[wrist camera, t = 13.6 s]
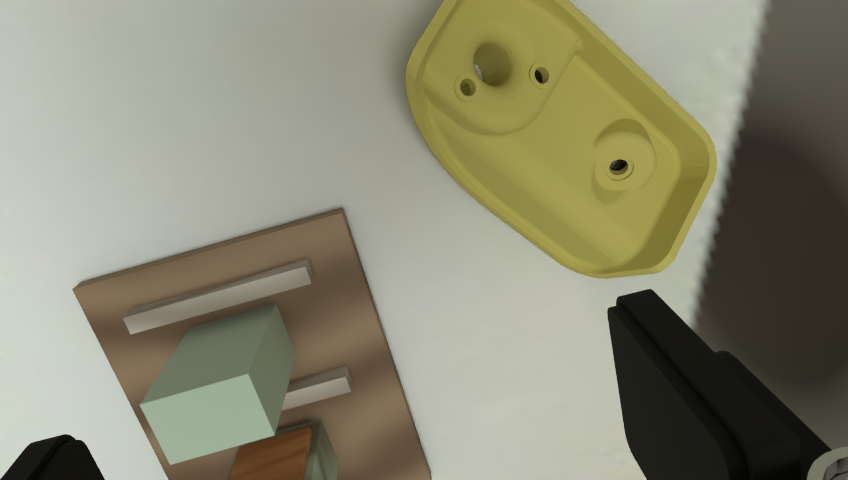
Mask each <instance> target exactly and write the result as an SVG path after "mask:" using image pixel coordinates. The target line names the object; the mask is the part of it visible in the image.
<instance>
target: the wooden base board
mask: <svg viewBox="0 0 848 480" xmlns="http://www.w3.org/2000/svg"><path fill="white" fill-rule="evenodd" d="M72 290H73V292H74V294H75V296H76V298H77V300H78V301H79V303H80V305H81V307H82V309H83V311H84V313H85V315H86V317H87V319H88V321H89V323H90V325H91V327H92V329H93V331H94V333H95V335H96V337H97V339H98V341H99V343H100V345H101V347H102V349H103V351H104V353H105V355H106V357H107V359H108V361H109V363H110V365H111V367H112V369H113V371H114V373H115V375H116V377H117V379H118V381H119V383H120V385H121V387H122V389H123V390H124V392H125V394H126V396H127V398H128V400H129V402H130V404H131V406H132V408H133V410H134V412H135V414H136V416H137V418H138V420H139V422H140V424H141V426H142V428H143V430H144V432H145V434H146V436H147V438H148V440H149V442H150V444H151V446H152V448H153V450H154V452H155V454H156V456H157V458H158V460H159V462H160V464H161V466H162V468H163V470H164V472H165V474H166V476H167V477H168V479H169V480H432V479H431V472H430V469H429V466H428V463H427V460H426V457H425V454H424V451H423V448H422V445H421V442H420V439H419V436H418V433H417V430H416V427H415V424H414V421H413V418H412V415H411V412H410V409H409V406H408V403H407V400H406V397H405V394H404V391H403V388H402V385H401V382H400V379H399V376H398V373H397V370H396V367H395V364H394V361H393V358H392V355H391V352H390V349H389V346H388V343H387V340H386V337H385V334H384V331H383V328H382V325H381V322H380V319H379V316H378V313H377V310H376V307H375V304H374V301H373V297H372V294H371V291H370V288H369V285H368V282H367V279H366V276H365V273H364V270H363V267H362V264H361V261H360V258H359V255H358V252H357V249H356V246H355V243H354V240H353V237H352V234H351V231H350V228H349V225H348V222H347V219H346V216H345V213H344V210H343V208H340V209H336V210H333V211H329V212H326V213H322V214H319V215H315V216H312V217H308V218H305V219H301V220H298V221H294V222H291V223H287V224H284V225H280V226H277V227H273V228H270V229H266V230H263V231H259V232H256V233H252V234H249V235H245V236H242V237H238V238H235V239H231V240H228V241H224V242H221V243H217V244H213V245H210V246H206V247H203V248H199V249H196V250H192V251H189V252H185V253H182V254H178V255H175V256H171V257H168V258H164V259H161V260H157V261H154V262H150V263H147V264H143V265H140V266H136V267H133V268H129V269H126V270H122V271H119V272H115V273H112V274H108V275H105V276H101V277H98V278H94V279H91V280H87V281H83V282H81V283H79V284H78V285H77V286H76V287H75V288H73V289H72ZM274 303H276V304H277V307H278V309H279V312H280V314H281V317H282V320H283V322H284V325H285V327H286V330H287V332H288V335H289V337H290V340H291V342H292V345H293V347H294V350H295V352H296V358H295V361H294V365H293V369H292V373H291V376H290V380H289V384H288V388H287V391H286V395H285V399H284V403H283V407H282V410H281V414H280V418H279V422H278V425H277V429H276V433H275V435H274V436H271V437H267V438H264V439H260V440H257V441H253V442H250V443H246V444H243V445H239V446H235V447H232V448H228V449H225V450H221V451H218V452H214V453H211V454H207V455H204V456H200V457H197V458H193V459H189V460H186V461H182V462H179V463H175V464H172V465H170V464H169V462H168V460H167V458H166V456H165V454H164V452H163V450H162V448H161V446H160V444H159V442H158V440H157V438H156V436H155V434H154V432H153V430H152V428H151V426H150V424H149V423H148V421H147V419H146V417H145V415H144V413H143V411H142V409H141V407H140V403H141V402H142V400H143V399H144V397H145V396H146V394H147V392H148V391H149V389H150V388H151V386H152V385H153V383H154V382H155V380H156V379H157V377H158V376H159V374H160V373H161V371H162V369H163V368H164V366H165V365H166V363H167V362H168V360H169V359H170V357H171V356H172V354H173V353H174V351H175V349H176V348H177V346H178V345H179V343H180V342H181V340H182V339H183V337H184V336H185V334H186V333H187V331H188V329H189V328H191V327H194V326H198V325H201V324H205V323H208V322H212V321H215V320H218V319H222V318H225V317H229V316H232V315H236V314H239V313H243V312H246V311H250V310H253V309H257V308H260V307H263V306H267V305H270V304H274Z"/></svg>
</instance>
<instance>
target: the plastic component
mask: <svg viewBox="0 0 848 480" xmlns="http://www.w3.org/2000/svg"><path fill="white" fill-rule="evenodd" d="M474 63H475V64H477V65H478V66H479V68H480V69H481V71H482V74H483V77H484V82H483V81H482V80H481V79H480V77H479V76H478V74H477V72H476V70H475V66H474ZM536 70H537V71H539V72H540V73H541V75H542V79H543V81H542V83H539V82H538V81H537V80H536V78H535V71H536ZM405 83H406V92H407V98H408V102H409V105H410V109H411V112H412V115H413V117H414V119H415V122H416V124H417V127H418V128H419V130H420V132H421V134H422V136H423V138H424V140H425V141H426V143H427V145H428V146H429V148H430V149H431V151H432V153H433V154H434V155H435V157H436V158H437V159H438V161H439V162H440V163H441V165H442V166H443V167H444V169H445V170H446V171H447V172H448V173H449V174H450V175H451V176H452V177H453V178H454V179H455V181H456V182H457V183H458V184H459V185H460V186H461V187H463V188H464V189H465V190H466V191H467V192H468V193H469V194H470V195H471V196H472V197H473V198H475V199H476V200H477V201H478V202H479V203H480V204H481V205H483V206H484V207H485V208H487V209H488V210H489V211H491V212H492V213H493V214H495V215H496V216H497V217H499V218H500V219H501V220H503V221H504V222H505V223H507V224H508V225H509V226H511V227H512V228H513V229H515V230H516V231H517V232H519V233H520V234H521V235H522V236H524V237H525V238H526V239H528V240H529V241H530V242H532V243H533V244H534V245H536V246H537V247H538V248H540V249H541V250H542V251H544V252H545V253H546V254H548V255H549V256H550V257H552V258H553V259H554V260H556V261H557V262H558V263H560V264H561V265H563V266H565V267H566V268H568V269H570V270H572V271H575V272H577V273H580V274H583V275H586V276H590V277H595V278H604V279H609V278H618V277H627V276H636V275H645V274H654V273H658V272H661V271H662V270H664V269H665V268H667V267H668V266H669V265H670V264H671V263H672V262H673V261H674V259H675V257H676V255H677V253H678V251H679V249H680V247H681V245H682V243H683V241H684V239H685V237H686V235H687V233H688V231H689V229H690V227H691V225H692V223H693V221H694V219H695V217H696V215H697V213H698V211H699V209H700V207H701V205H702V203H703V201H704V199H705V197H706V195H707V193H708V191H709V189H710V187H711V185H712V183H713V181H714V177H715V174H716V165H717V160H716V151H715V148H714V144H713V142H712V140H711V138H710V136H709V134H708V133H707V132H706V130H705V129H704V128H703V127H702V126H701V125H700V124H699V123H698V122H697V121H696V120H694V119H693V118H692V117H691V116H690V115H689V114H688V113H687V112H686V111H685V110H684V109H683V108H682V107H681V106H680V105H679V104H678V103H677V102H676V101H675V100H673V99H672V98H671V97H670V96H669V95H668V94H667V93H666V92H665V91H664V90H663V89H662V88H661V87H660V86H659V85H658V84H657V83H656V82H655V81H654V80H652V79H651V78H650V77H649V76H648V75H647V74H646V73H645V72H644V71H643V70H642V69H641V68H640V67H639V66H638V65H637V64H636V63H635V62H634V61H632V60H631V59H630V58H629V57H628V56H627V55H626V54H625V53H624V52H623V51H622V50H621V49H620V48H619V47H618V46H617V45H616V44H615V43H614V42H613V41H611V40H610V39H609V38H608V37H607V36H606V35H605V34H604V33H603V32H602V31H601V30H600V29H599V28H598V27H597V26H596V25H595V24H594V23H593V22H591V21H590V20H589V19H588V18H587V17H586V16H585V15H584V14H583V13H582V12H581V11H580V10H578V9H577V8H576V7H575V6H574V5H573V4H572V3H571V2H570V1H569V0H444V1H443V2H442V4H441V6H440V7H439V9H438V10H437V12H436V14H435V15H434V17H433V18H432V20H431V22H430V23H429V25H428V27H427V28H426V30H425V31H424V33H423V34H422V36H421V37H420V39H419V41H418V42H417V44H416V45H415V47H414V49H413V51H412V53H411V56H410V58H409V61H408V63H407V67H406V71H405ZM619 159H622V160H625V161H626V162H627V164H626V166H625V167H624V168H623V169H621V170H620V171H614V170H611V169H610V168H609V167H610V164H611V163H612V162H613V161H615V160H619Z"/></svg>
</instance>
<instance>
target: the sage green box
mask: <svg viewBox="0 0 848 480" xmlns="http://www.w3.org/2000/svg"><path fill="white" fill-rule="evenodd" d="M295 358H296V352H295V350H294V347H293V345H292V342H291V340H290V337H289V335H288V332H287V330H286V327H285V325H284V322H283V320H282V317H281V314H280V312H279V309H278V307H277V304H276V303H274V304H270V305H267V306H263V307H260V308H257V309H253V310H250V311H246V312H243V313H239V314H236V315H232V316H229V317H225V318H222V319H218V320H215V321H212V322H208V323H205V324H201V325H198V326H194V327H191V328H189V329H188V331H187V333H186V334H185V336H184V337H183V339H182V340H181V342H180V343H179V345H178V346H177V348H176V349H175V351H174V353H173V354H172V356H171V357H170V359H169V360H168V362H167V363H166V365H165V366H164V368H163V369H162V371H161V373H160V374H159V376H158V377H157V379H156V380H155V382H154V383H153V385H152V386H151V388H150V389H149V391H148V392H147V394H146V396H145V397H144V399H143V400H142V402H141V403H140V407H141V409H142V411H143V413H144V415H145V417H146V419H147V421H148V423H149V424H150V426H151V428H152V430H153V432H154V434H155V436H156V438H157V440H158V442H159V444H160V446H161V448H162V450H163V452H164V454H165V456H166V458H167V460H168V462H169V464H170V465H172V464H175V463H179V462H182V461H186V460H189V459H193V458H197V457H200V456H204V455H207V454H211V453H214V452H218V451H221V450H225V449H228V448H232V447H235V446H239V445H243V444H246V443H250V442H253V441H257V440H260V439H264V438H267V437H271V436H274V435H275V433H276V429H277V425H278V422H279V418H280V414H281V410H282V407H283V403H284V399H285V395H286V391H287V388H288V384H289V380H290V376H291V373H292V369H293V365H294V361H295Z"/></svg>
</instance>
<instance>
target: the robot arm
mask: <svg viewBox="0 0 848 480" xmlns="http://www.w3.org/2000/svg"><path fill="white" fill-rule="evenodd" d="M607 313H608V321H609V328H610V335H611V342H612V348H613V355H614V362H615V368H616V375H617V382H618V388H619V395H620V402H621V408H622V415H623V422H624V428H625V434H626V438H627V442H628V445H629V448H630V450H631V452H632V454H633V456H634V458H635V460H636V461H637V463H638V465H639V467H640V468H641V470H642V472H643V473H644V475H645V477H646V479H647V480H848V447H842V448H839V449H836V450H833V451H832V450H831V449H830V448H829V447H828V446H827V445H826V444H825V443H824V442H823V441H822V440H821V439H820V438H819V437H818V436H817V435H815V433H813V432H812V431H811V430H810V429H809V428H808V427H807V426H806V425H805V424H804V423H803V422H802V421H801V420H800V419H799V418H798V417H797V416H796V415H795V414H794V413H793V412H792V411H791V410H789V408H788V407H786V406H785V405H784V404H783V403H782V402H781V401H780V400H779V399H778V398H777V397H776V396H775V395H774V394H773V393H772V392H771V391H770V390H769V389H768V388H767V387H765V385H764V384H763V383H762V382H761V381H759V380H758V379H757V378H756V377H755V376H754V375H753V374H752V373H751V372H750V371H749V370H748V369H747V368H746V367H745V366H744V365H743V364H742V363H741V362H740V361H739V360H738V359H737V358H736V357H734V356H733V355H732V354H730V353H729V352H727V351H719V352H715V353H714V352H713V351H712V350H711V349H710V348H709V347H708V346H707V344H706V343H705V342H703V341H702V340H701V338H700V337H699V336H698V335H697V334H696V333H695V332H694V331H693V330H692V329H691V328H690V327H689V326H688V325H687V324H686V323H685V322H684V321H683V320H682V319H681V318H680V317H679V316H678V315H677V314H676V313H675V312H674V311H673V310H672V309H671V308H670V307H669V306H668V305H667V304H666V303H665V302H664V301H663V300H662V299H661V298H660V297H659V296H658V295H657V294H656V293H655V292H654V291H653V290H651V289H648V290H644V291H640V292H635V293H631V294H627V295H623V296H619V297H618V298H617V301H616V306H614V307H610V308H608V312H607ZM0 480H105V479H104V477H103V475H102V474H101V472H100V470H99V468H98V466H97V464H96V462H95V461H94V459H93V457H92V455H91V453H90V451H89V449H88V448H87V446H86V445H85V443H84V442H82V441H81V440H75V438H73V437H72V436H70V435H66V434H65V435H61V436H57V437H53V438H49V439H45V440H41V441H36V442H33V443H31V444H29V445H28V446H27V447H26V448H25V449H24V451H23V452H22V453H21V454H20V456H19V457H18V458H17V459H16V461H15V462H14V463H13V464H12V466H11V467H10V468H9V469H8V471H7V472H6V473H5V474H4V476H3V477H2V478H1V479H0Z"/></svg>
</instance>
